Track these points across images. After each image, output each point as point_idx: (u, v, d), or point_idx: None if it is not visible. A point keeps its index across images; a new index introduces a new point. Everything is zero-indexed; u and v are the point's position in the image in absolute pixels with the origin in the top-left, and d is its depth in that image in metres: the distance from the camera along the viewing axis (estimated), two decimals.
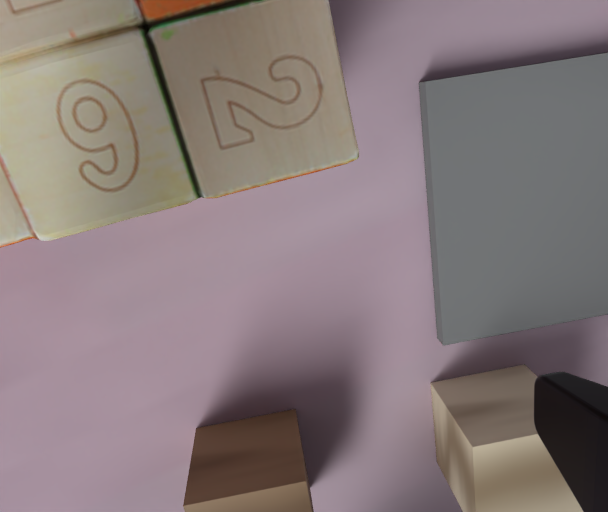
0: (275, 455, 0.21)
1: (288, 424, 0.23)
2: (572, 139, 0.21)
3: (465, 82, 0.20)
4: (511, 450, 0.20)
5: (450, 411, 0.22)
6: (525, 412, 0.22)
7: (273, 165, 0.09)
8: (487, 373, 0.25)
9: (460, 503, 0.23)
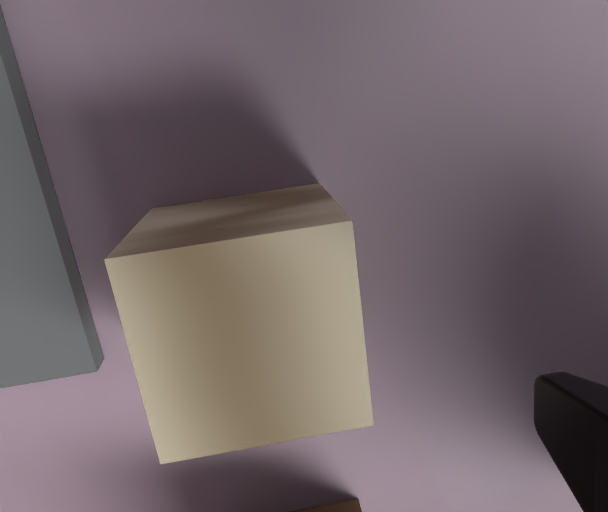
0: None
1: None
2: None
3: None
4: (170, 398, 0.11)
5: None
6: None
7: None
8: None
9: None
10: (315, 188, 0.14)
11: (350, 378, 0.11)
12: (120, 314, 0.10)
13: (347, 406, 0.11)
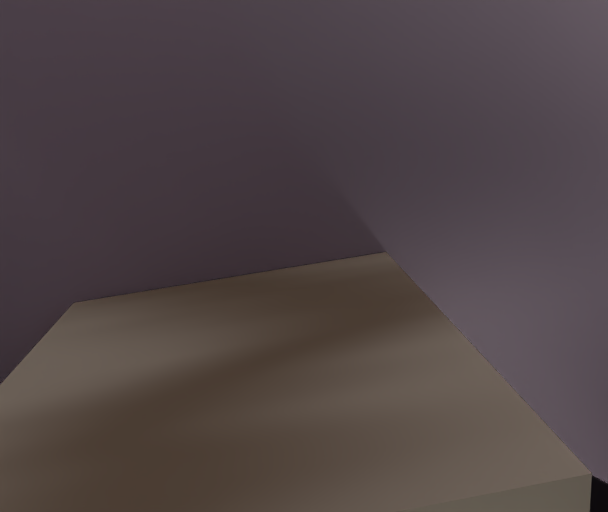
0: None
1: None
2: None
3: None
4: None
5: None
6: None
7: None
8: None
9: None
10: (387, 271, 0.07)
11: None
12: None
13: None
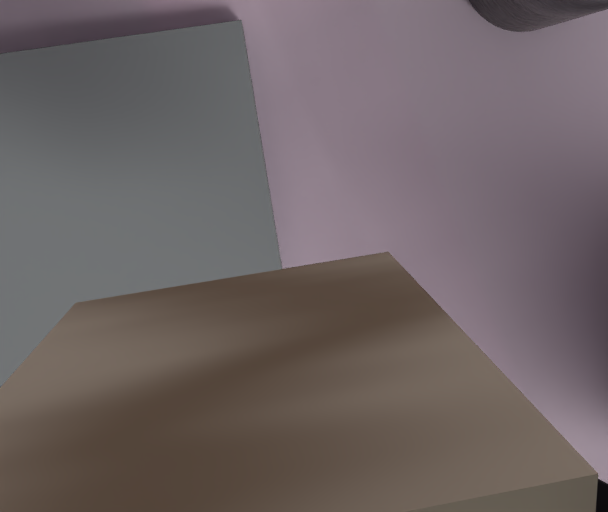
0: None
1: None
2: (22, 233, 0.17)
3: None
4: None
5: None
6: None
7: None
8: None
9: None
10: (390, 271, 0.07)
11: None
12: None
13: None
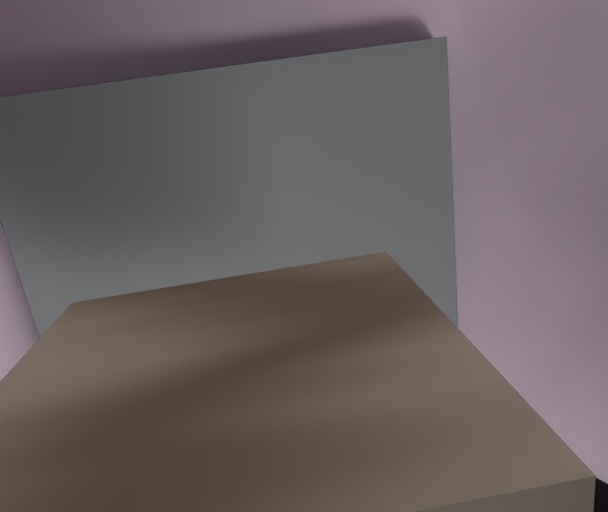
0: None
1: None
2: None
3: None
4: None
5: None
6: None
7: None
8: None
9: None
10: (387, 270, 0.07)
11: None
12: None
13: None
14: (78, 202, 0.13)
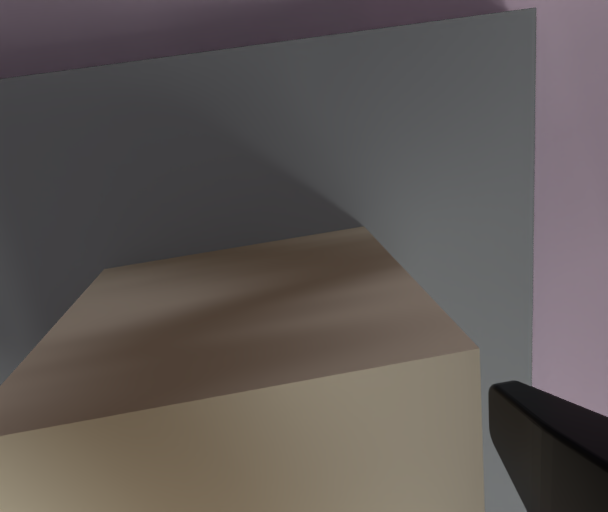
0: None
1: None
2: None
3: None
4: None
5: None
6: None
7: None
8: None
9: None
10: (363, 239, 0.09)
11: None
12: None
13: None
14: (9, 244, 0.09)
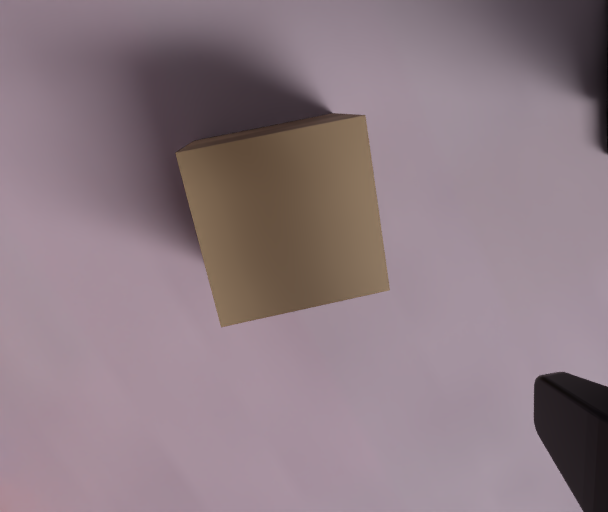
0: None
1: None
2: None
3: None
4: None
5: None
6: None
7: None
8: None
9: None
10: None
11: None
12: None
13: None
14: None
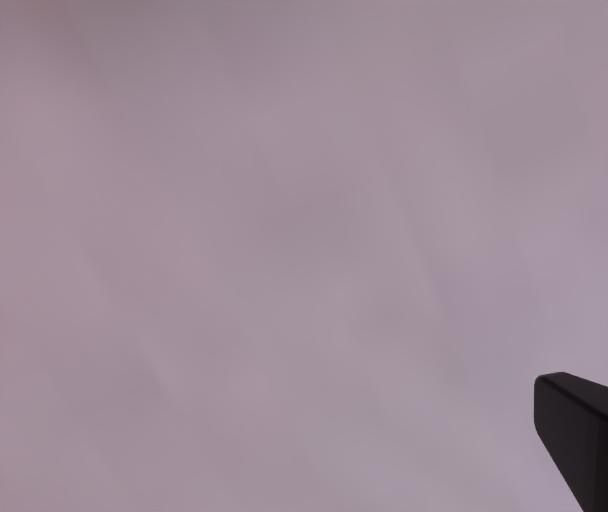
0: None
1: None
2: None
3: None
4: None
5: None
6: None
7: None
8: None
9: None
10: None
11: None
12: None
13: None
14: None
